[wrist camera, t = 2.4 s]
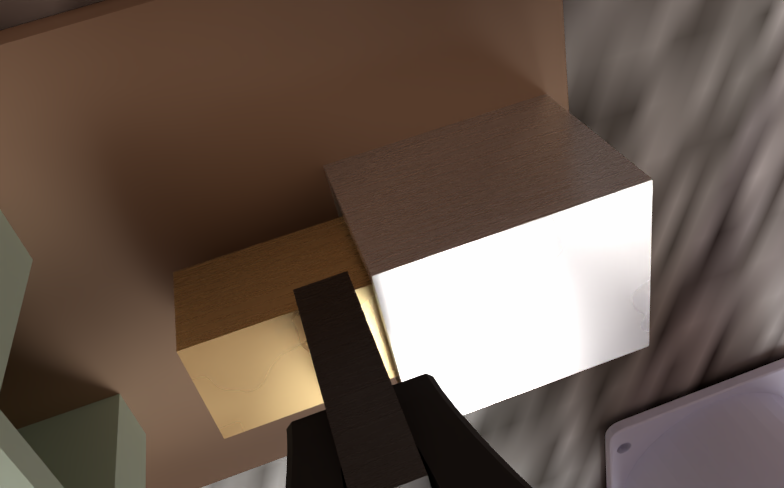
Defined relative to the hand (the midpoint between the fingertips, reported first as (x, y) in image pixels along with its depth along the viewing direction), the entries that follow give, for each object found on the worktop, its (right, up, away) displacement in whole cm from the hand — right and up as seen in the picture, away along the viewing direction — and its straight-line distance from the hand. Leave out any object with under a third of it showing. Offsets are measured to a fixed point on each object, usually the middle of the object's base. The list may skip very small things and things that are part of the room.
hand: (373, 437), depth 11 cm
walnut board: (-3, +3, +5) cm, 7 cm away
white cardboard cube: (+2, +4, +5) cm, 6 cm away
